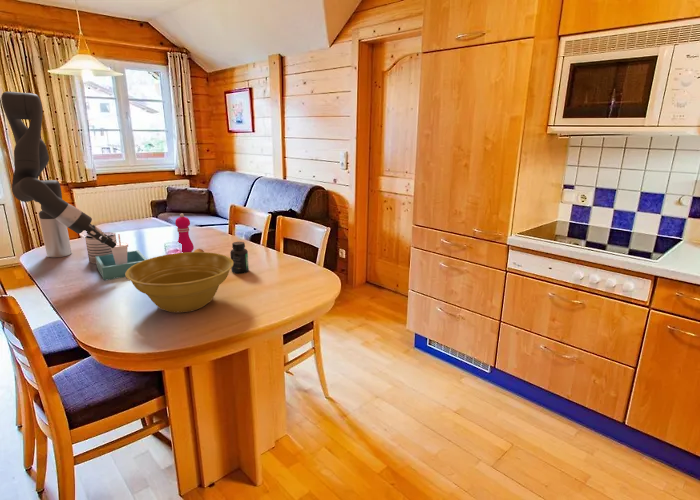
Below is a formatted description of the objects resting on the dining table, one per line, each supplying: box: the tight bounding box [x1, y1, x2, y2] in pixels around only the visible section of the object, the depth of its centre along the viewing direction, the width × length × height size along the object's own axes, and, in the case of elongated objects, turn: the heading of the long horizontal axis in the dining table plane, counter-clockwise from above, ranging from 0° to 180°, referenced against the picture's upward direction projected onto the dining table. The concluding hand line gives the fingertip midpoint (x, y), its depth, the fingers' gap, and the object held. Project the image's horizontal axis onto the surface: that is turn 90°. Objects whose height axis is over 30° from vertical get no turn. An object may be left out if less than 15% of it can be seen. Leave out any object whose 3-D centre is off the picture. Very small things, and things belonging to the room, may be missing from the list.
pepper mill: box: [174, 213, 195, 253], centre depth 183 cm, size 7×7×20 cm
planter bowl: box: [125, 251, 234, 313], centre depth 135 cm, size 32×32×13 cm
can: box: [84, 231, 118, 265], centre depth 179 cm, size 11×11×12 cm
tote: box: [95, 249, 148, 281], centre depth 167 cm, size 18×16×5 cm
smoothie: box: [110, 233, 129, 265], centre depth 166 cm, size 6×6×14 cm
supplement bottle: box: [229, 241, 250, 275], centre depth 167 cm, size 7×7×12 cm
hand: (112, 243), depth 163 cm, fingers open, 8 cm apart
